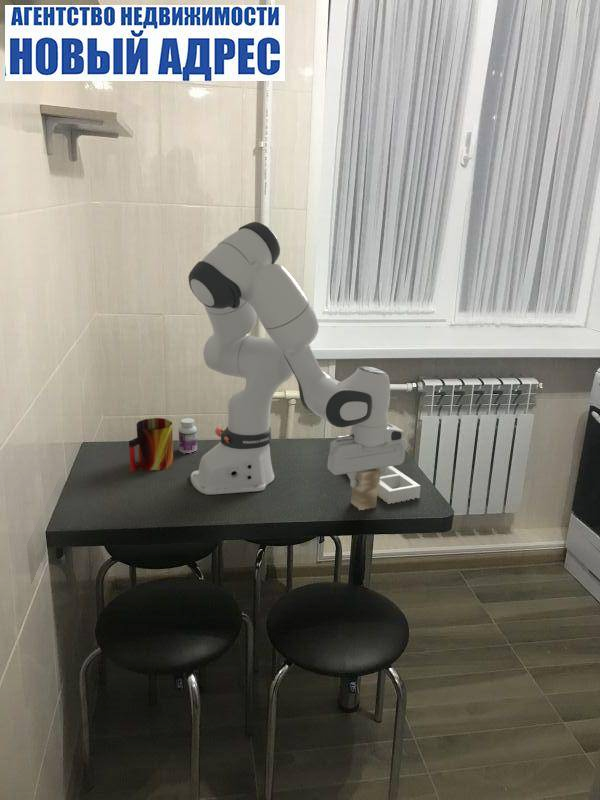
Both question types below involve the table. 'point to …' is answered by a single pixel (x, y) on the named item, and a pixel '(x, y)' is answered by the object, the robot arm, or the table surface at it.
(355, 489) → the wooden block
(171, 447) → the mug
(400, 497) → the rack
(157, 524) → the table surface
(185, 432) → the pill bottle
